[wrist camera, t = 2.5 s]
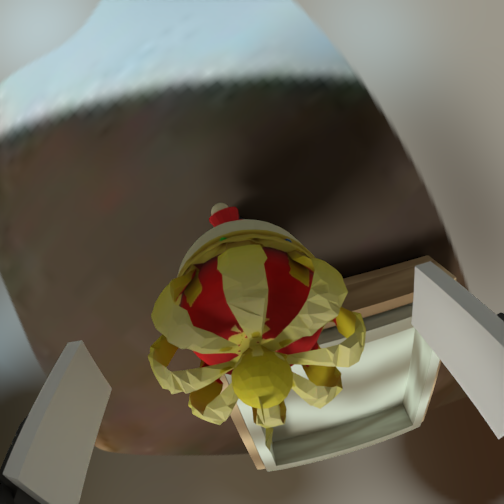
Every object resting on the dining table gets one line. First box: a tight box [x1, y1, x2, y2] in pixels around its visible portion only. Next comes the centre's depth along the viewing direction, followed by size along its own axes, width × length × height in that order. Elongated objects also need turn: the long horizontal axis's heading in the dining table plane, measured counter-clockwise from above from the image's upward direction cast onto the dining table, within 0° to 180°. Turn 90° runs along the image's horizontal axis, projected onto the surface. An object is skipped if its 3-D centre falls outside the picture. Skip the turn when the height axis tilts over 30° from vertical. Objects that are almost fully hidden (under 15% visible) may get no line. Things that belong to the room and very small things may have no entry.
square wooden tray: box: [220, 255, 456, 472], centre depth 23 cm, size 18×18×5 cm
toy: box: [148, 203, 366, 451], centre depth 13 cm, size 7×7×15 cm
